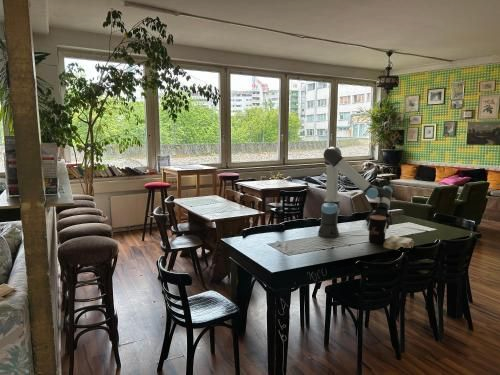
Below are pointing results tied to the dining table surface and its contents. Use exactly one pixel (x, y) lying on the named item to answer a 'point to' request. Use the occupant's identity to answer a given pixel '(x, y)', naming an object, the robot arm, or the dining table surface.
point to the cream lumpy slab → (398, 242)
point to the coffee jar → (377, 229)
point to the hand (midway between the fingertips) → (376, 231)
